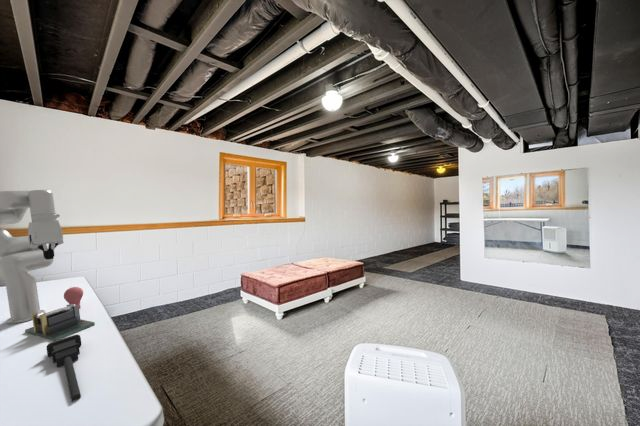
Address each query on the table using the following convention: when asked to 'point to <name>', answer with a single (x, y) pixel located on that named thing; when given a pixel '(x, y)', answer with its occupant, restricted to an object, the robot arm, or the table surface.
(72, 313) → the circuit board
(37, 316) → the retention strap
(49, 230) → the robot arm
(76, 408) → the table surface
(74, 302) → the light bulb
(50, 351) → the electrical plug
